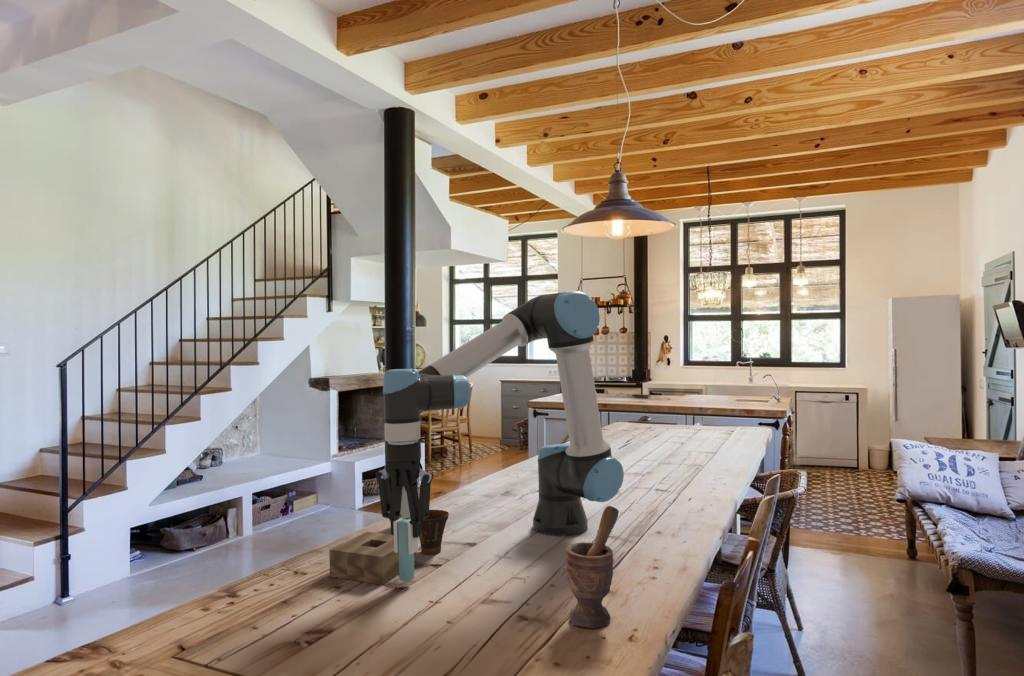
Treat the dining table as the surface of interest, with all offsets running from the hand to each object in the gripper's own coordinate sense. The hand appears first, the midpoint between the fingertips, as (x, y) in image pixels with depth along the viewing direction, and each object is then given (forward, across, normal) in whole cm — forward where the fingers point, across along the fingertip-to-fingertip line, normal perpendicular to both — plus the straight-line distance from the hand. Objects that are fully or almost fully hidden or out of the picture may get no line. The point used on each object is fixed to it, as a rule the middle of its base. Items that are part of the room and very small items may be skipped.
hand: (406, 551), depth 133 cm
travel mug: (+8, +24, -37) cm, 45 cm away
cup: (+8, +6, -21) cm, 23 cm away
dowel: (+6, 0, 0) cm, 6 cm away
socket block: (+7, +12, -6) cm, 15 cm away
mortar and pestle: (+8, -41, +1) cm, 42 cm away
